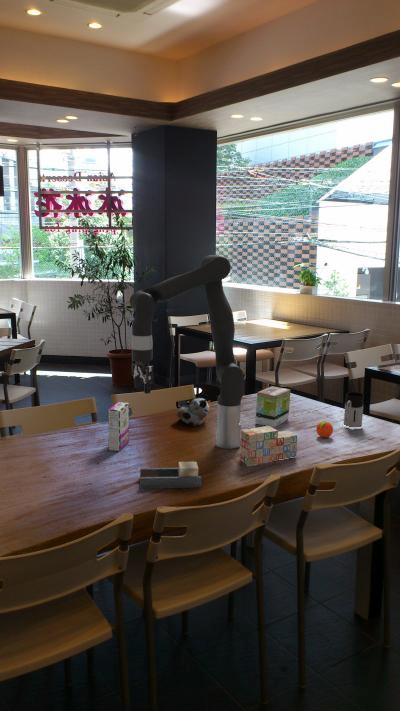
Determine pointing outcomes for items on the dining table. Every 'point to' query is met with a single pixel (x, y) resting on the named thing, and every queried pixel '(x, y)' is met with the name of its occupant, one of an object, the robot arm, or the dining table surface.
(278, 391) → the tea box
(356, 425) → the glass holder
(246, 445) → the stack of blocks
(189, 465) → the birch block
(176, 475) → the chute
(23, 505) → the dining table surface
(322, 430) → the clementine
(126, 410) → the candy bar box
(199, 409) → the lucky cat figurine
